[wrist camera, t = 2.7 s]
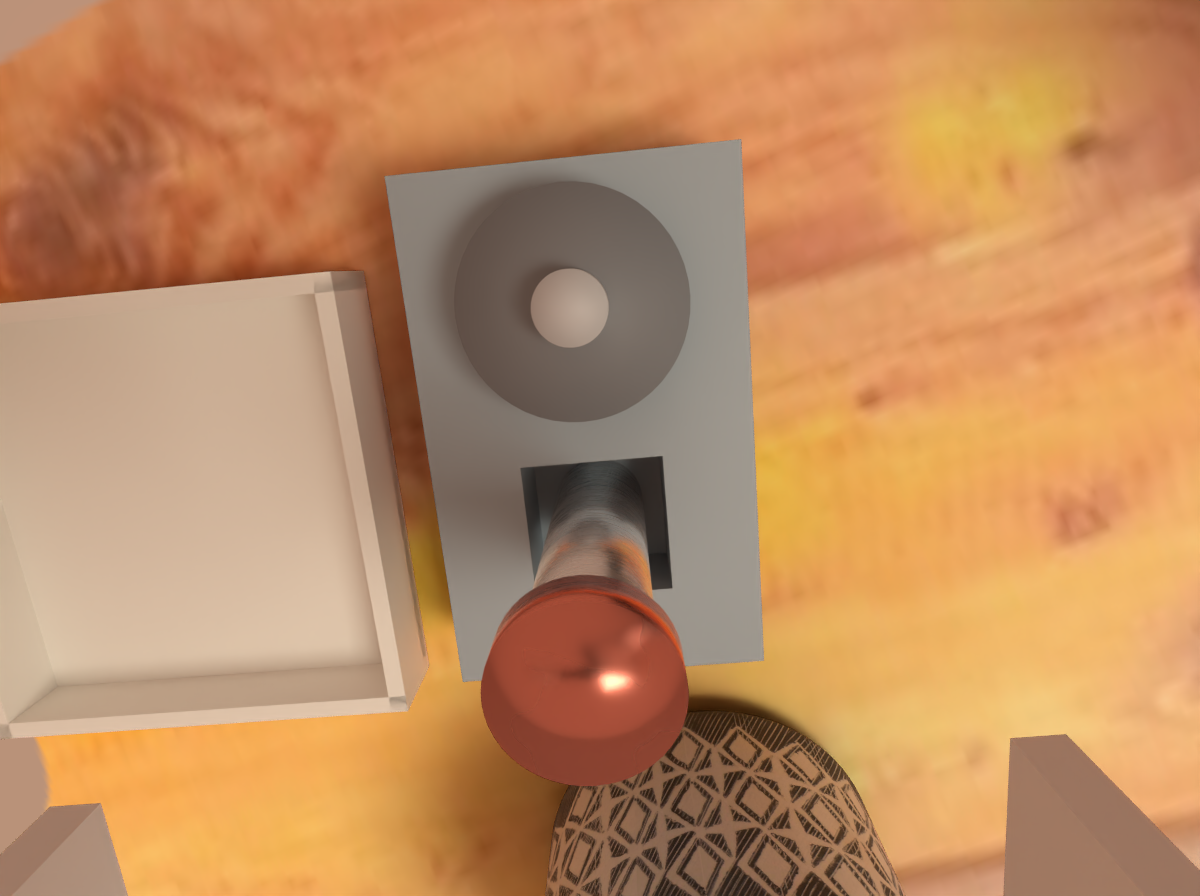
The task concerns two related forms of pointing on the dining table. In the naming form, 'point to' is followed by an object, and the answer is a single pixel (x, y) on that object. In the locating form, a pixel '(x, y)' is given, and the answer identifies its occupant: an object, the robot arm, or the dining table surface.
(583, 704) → the lock pin
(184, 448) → the tray
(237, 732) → the dining table surface
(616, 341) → the block
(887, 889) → the planter
